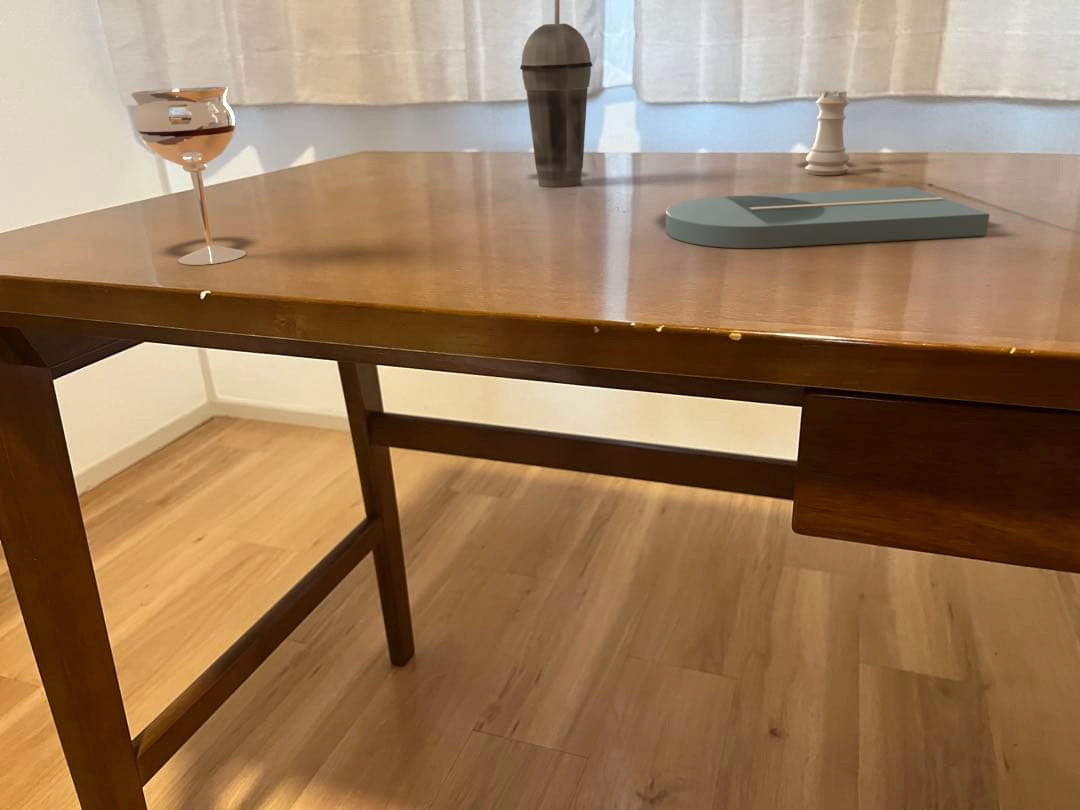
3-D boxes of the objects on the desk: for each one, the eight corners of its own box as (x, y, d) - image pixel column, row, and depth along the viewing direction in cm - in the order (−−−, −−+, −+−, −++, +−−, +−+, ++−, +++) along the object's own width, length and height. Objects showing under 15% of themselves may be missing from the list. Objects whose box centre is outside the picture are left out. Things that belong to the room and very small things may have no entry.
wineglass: (198, 246, 69) (166, 88, 65) (274, 246, 68) (247, 85, 63) (145, 267, 63) (106, 95, 58) (227, 268, 62) (194, 92, 57)
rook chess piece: (797, 170, 92) (803, 91, 89) (838, 168, 92) (845, 89, 89) (813, 177, 88) (820, 94, 85) (856, 174, 88) (864, 92, 85)
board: (909, 205, 73) (912, 185, 72) (986, 236, 62) (990, 212, 61) (652, 219, 72) (653, 199, 71) (684, 252, 61) (684, 228, 60)
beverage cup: (515, 188, 89) (504, -27, 81) (538, 177, 95) (530, -24, 87) (583, 189, 86) (578, -32, 78) (602, 178, 93) (599, -29, 85)
